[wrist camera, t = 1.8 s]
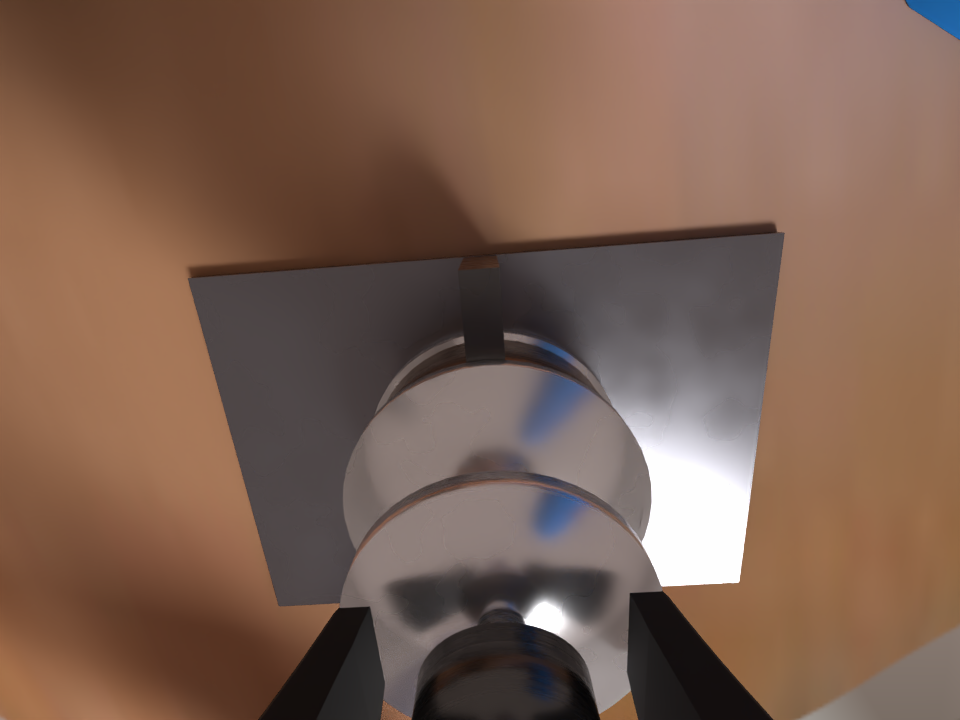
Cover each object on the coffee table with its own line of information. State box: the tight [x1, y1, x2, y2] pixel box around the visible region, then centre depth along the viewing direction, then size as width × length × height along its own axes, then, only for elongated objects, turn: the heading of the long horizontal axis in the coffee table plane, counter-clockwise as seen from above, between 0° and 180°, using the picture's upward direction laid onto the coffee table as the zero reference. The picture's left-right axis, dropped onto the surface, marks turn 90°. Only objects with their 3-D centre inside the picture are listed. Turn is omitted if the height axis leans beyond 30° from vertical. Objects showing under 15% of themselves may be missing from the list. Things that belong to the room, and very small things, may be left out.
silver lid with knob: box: [340, 470, 662, 720], centre depth 8 cm, size 6×6×3 cm
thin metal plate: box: [188, 232, 785, 606], centre depth 14 cm, size 13×18×4 cm
